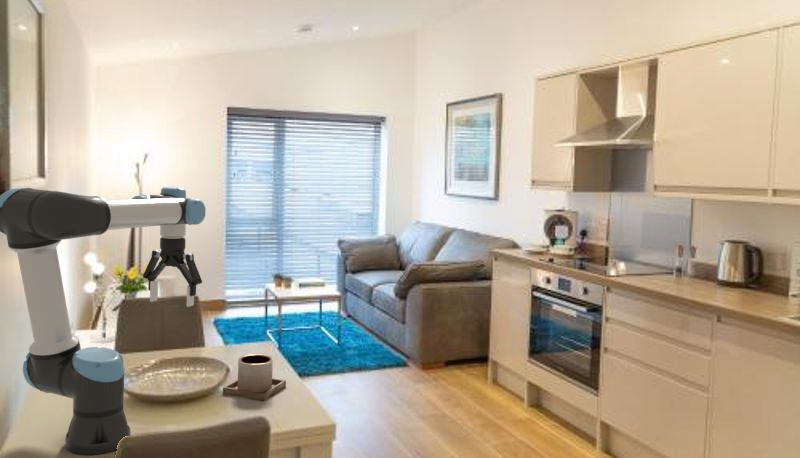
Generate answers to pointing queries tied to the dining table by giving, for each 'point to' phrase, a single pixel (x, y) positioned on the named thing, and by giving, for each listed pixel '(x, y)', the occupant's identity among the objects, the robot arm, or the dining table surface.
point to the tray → (233, 390)
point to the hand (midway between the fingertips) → (171, 303)
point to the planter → (255, 373)
